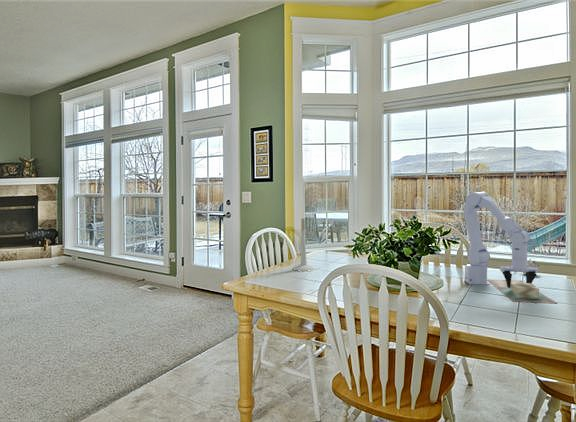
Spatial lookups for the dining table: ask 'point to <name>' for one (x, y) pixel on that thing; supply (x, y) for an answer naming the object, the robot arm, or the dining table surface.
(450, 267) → the dining table surface
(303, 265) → the candlestick
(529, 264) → the game die
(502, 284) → the shallow brown tray
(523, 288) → the birch block
